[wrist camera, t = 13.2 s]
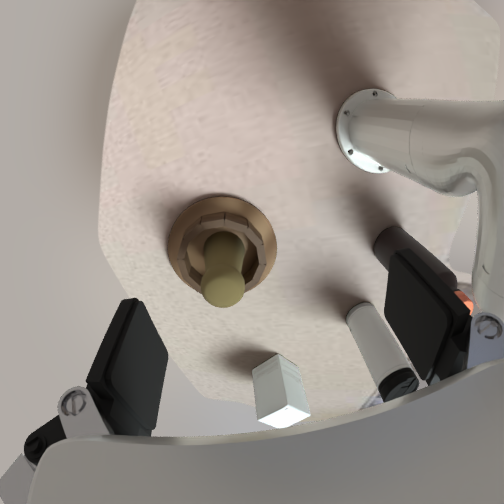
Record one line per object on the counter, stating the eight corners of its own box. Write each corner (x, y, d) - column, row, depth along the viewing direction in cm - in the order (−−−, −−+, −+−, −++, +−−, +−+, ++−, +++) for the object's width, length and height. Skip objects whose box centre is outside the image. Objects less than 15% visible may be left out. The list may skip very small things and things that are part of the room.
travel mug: (339, 327, 51) (376, 411, 34) (353, 300, 49) (400, 385, 31) (365, 329, 52) (405, 407, 35) (380, 303, 50) (429, 381, 32)
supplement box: (250, 369, 55) (255, 420, 44) (278, 352, 53) (288, 404, 42) (273, 382, 58) (280, 430, 47) (299, 367, 56) (311, 415, 45)
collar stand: (293, 218, 41) (299, 228, 37) (252, 303, 47) (254, 318, 43) (185, 181, 37) (181, 188, 33) (159, 276, 43) (153, 290, 40)
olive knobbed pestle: (242, 269, 43) (246, 317, 33) (202, 266, 42) (195, 313, 32) (247, 232, 40) (252, 273, 30) (204, 229, 39) (195, 269, 30)
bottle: (386, 219, 42) (464, 287, 24) (412, 234, 43) (485, 301, 26) (366, 254, 44) (429, 334, 27) (392, 266, 46) (454, 341, 28)
